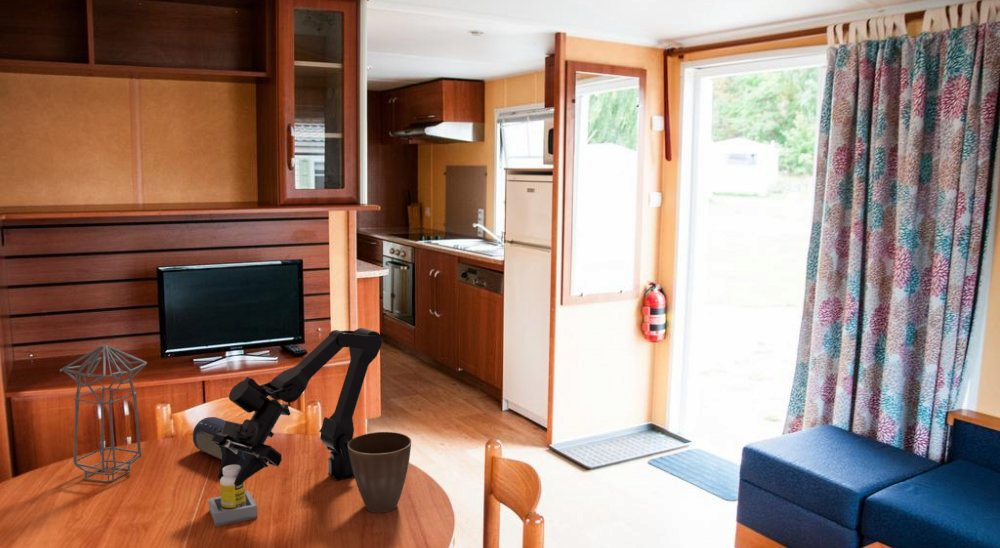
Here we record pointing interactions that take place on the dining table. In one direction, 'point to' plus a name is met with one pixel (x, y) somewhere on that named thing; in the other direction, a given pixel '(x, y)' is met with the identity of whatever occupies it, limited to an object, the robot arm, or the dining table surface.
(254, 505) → the can holder
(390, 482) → the plant pot
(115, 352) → the geometric lantern
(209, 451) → the portable speaker
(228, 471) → the supplement bottle
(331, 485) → the dining table surface
